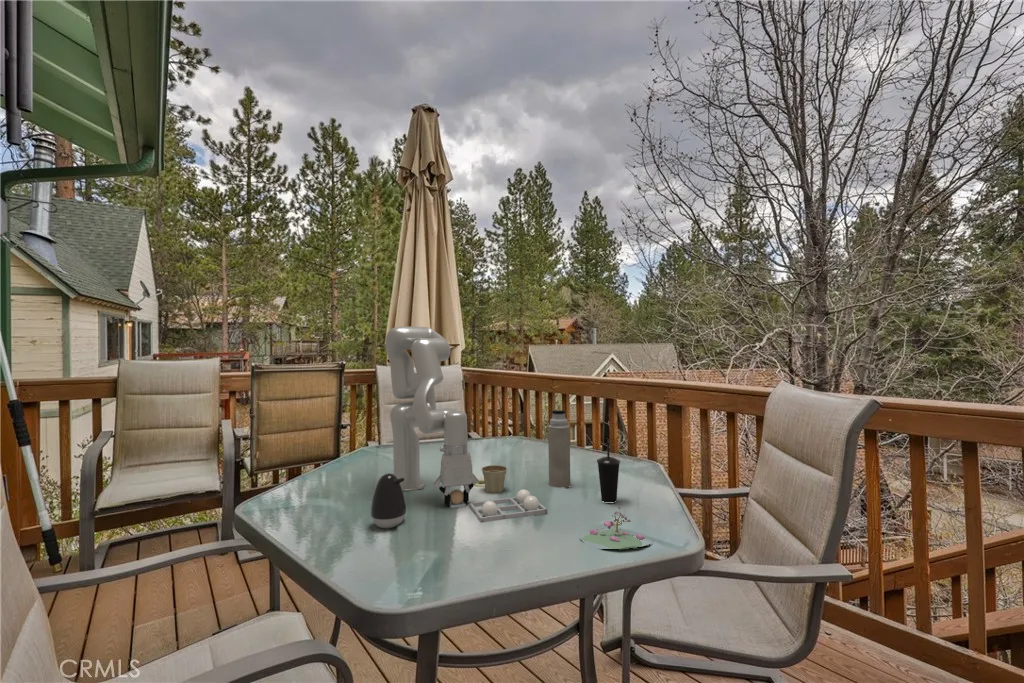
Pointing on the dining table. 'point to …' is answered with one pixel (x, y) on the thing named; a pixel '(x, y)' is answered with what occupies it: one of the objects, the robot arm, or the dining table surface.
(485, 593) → the dining table surface
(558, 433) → the thermos bottle
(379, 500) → the penguin figurine
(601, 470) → the drinking cup
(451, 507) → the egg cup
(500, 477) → the flower pot
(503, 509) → the carton
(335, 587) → the dining table surface
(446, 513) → the dining table surface
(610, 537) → the plant
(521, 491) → the white egg
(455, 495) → the brown egg
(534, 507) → the white egg
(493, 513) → the white egg
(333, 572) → the dining table surface
